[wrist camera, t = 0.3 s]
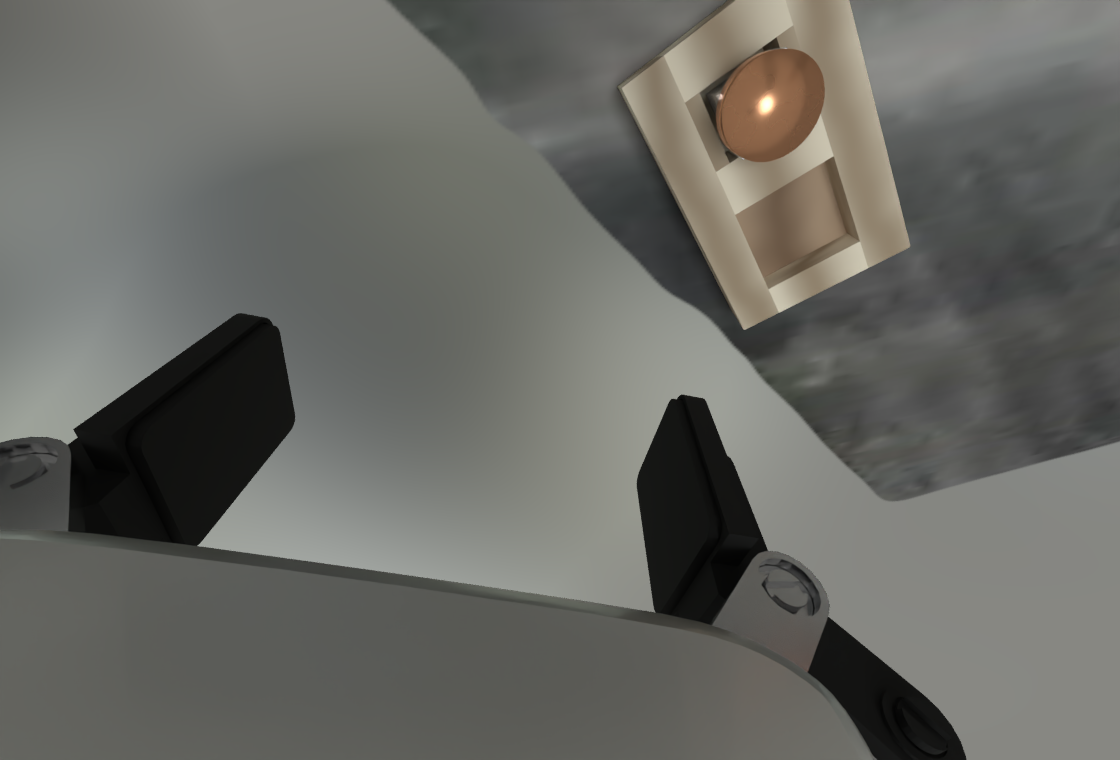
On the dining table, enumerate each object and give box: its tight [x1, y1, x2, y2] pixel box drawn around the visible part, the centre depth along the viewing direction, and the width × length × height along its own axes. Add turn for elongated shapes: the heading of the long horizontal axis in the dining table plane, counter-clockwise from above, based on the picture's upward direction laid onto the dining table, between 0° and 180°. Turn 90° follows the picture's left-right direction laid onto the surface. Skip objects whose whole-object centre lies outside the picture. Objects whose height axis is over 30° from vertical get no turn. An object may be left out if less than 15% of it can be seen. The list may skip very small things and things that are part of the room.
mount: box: [617, 0, 910, 330], centre depth 33 cm, size 13×21×4 cm, turn 34°
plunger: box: [706, 47, 825, 162], centre depth 28 cm, size 6×6×4 cm
